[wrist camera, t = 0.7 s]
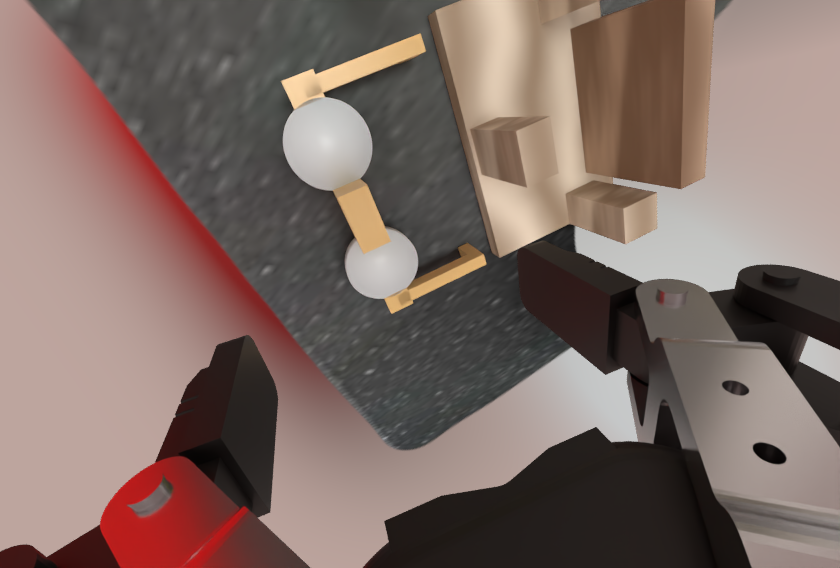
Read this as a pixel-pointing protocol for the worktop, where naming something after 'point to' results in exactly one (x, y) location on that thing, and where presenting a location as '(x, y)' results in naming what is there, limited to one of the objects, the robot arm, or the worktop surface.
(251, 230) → the worktop surface
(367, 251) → the glasses
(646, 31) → the display stand
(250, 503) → the robot arm
